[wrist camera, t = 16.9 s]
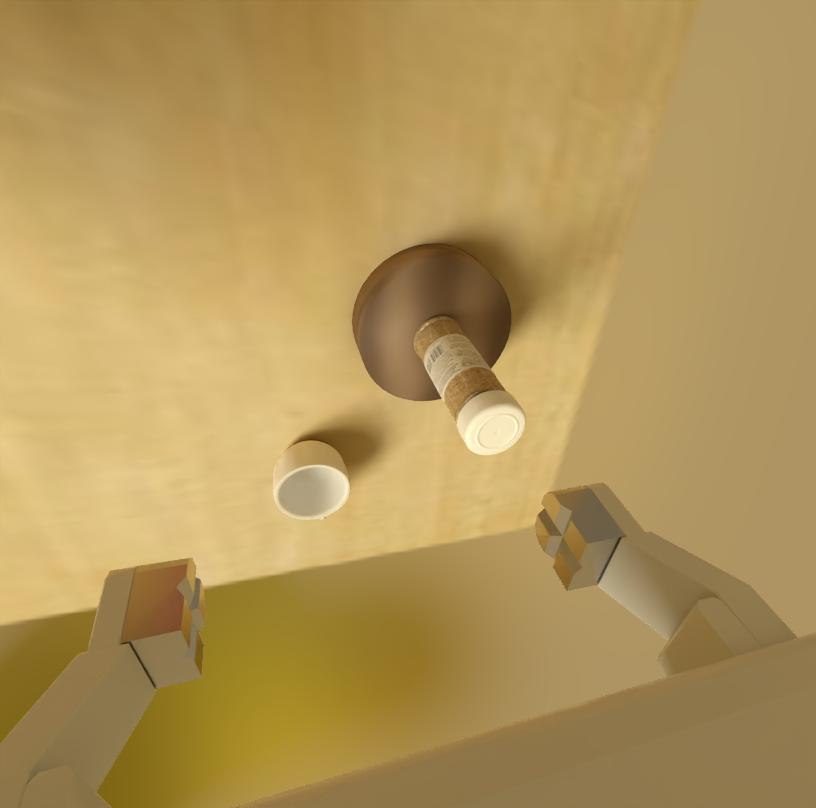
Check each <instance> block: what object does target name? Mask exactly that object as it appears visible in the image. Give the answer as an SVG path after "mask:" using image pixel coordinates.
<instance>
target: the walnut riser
mask: <svg viewBox="0 0 816 808" xmlns="http://www.w3.org/2000/svg"><path fill="white" fill-rule="evenodd" d="M438 316H446V317H449V318H452V319H453V320H455V321H456V322H457V323H458V324H459V326H460V328H461V331H462V332H463V333H464V335H465V336H466V337H467V339H469V340H470V342H471V343H472V344H473V346H474V347H475V348H476V350H477V351H478V352H479V354H480V355H481V356H482V358H483V359H484V361H485V362H486V363H487V365H488V366H489V367H490V369H491V368H492V366H493V365H494V364H495V363H496V361H497V360H498V358H499V357H500V355H501V353H502V351H503V349H504V347H505V345H506V342H507V340H508V336H509V332H510V326H511V310H510V304H509V301H508V298H507V295H506V293H505V291H504V289H503V288H502V286H501V285H500V283H499V282H498V281H497V280H496V279H495V278H494V277H493V276H492V275H491V274H490V273H489V272H488V271H487V270H486V269H485V268H484V267H483V266H482V265H481V264H480V263H479V262H478V261H477V260H476V259H475V258H474V257H472V256H471V255H470V254H468V253H467V252H465V251H463V250H461V249H459V248H455V247H452V246H448V245H443V244H426V245H419V246H415V247H411V248H408V249H406V250H403V251H400V252H399V253H397V254H395V255H393V256H391V257H390V258H388V259H387V260H386V261H384V262H383V263H382V264H380V265H379V266H378V267H377V268H376V269H375V270H374V271H373V272H372V273H371V275H370V276H369V277H368V278H367V280H366V281H365V283H364V284H363V286H362V288H361V290H360V292H359V294H358V296H357V299H356V302H355V305H354V310H353V319H352V325H353V333H354V337H355V341H356V343H357V346H358V349H359V352H360V354H361V357H362V360H363V362H364V365H365V367H366V370H367V371H368V373H369V375H370V376H371V378H372V379H373V380H374V381H375V382H376V384H378V385H379V386H380V387H381V388H382V389H384V390H385V391H387V392H388V393H390V394H392V395H394V396H397V397H400V398H403V399H407V400H413V401H431V400H437V399H442V398H441V396H440V394H439V393H438V391H437V389H436V387H435V385H434V383H433V381H432V380H431V378H430V376H429V374H428V372H427V370H426V368H425V365H424V363H423V361H422V359H421V358H420V357H419V356H418V354H417V353H416V351H415V349H414V337H415V334H416V332H417V331H418V328H419V327H420V326H421V325H422V324H423V323H424V322H426V321H427V320H429V319H431V318H434V317H438Z"/></svg>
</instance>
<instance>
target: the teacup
mask: <svg viewBox="0 0 816 808" xmlns="http://www.w3.org/2000/svg"><path fill="white" fill-rule="evenodd" d="M350 487H351V484H350V479H349V475H348V472H347V470H346V467H345V464H344V461H343V459H342V457H341V455H340V454H339V453H338V452H337V450H335V449H334V448H333V447H332V446H330V445H328V444H326V443H324V442H320V441H312V440H310V441H303V442H299V443H296V444H294V445H292V446H291V447H289V448H288V449H287V450H285V451H284V452H283V454H282V455H281V456H280V458H279V459H278V461H277V463H276V466H275V469H274V476H273V495H274V499H275V502H276V504H277V506H278V507H279V509H280V510H281V511H282V512H284V513H285V514H287V515H288V516H291V517H293V518H297V519H304V520H311V519H318V518H320V519H321V520H323V519H325V516H328V515H330V514H332V513H334V512H335V511H337V510H338V509H339V508H341V507H342V506H343V505H344V503H345V502H346V501H347V499H348V497H349V494H350Z"/></svg>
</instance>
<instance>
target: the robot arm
mask: <svg viewBox="0 0 816 808" xmlns="http://www.w3.org/2000/svg"><path fill="white" fill-rule="evenodd" d="M542 505H543V506H544V509H543V510H542V511H541V512H540V513H539V514H538V516H537V519H536V523H535V527H536V535H537V538H538V541H539V543H540V545H541V547H542V549H543V551H544V552H545V553H546V554H548V555H550V556H551V557H553V558H554V564H553V568H554V570H555V572H556V573H557V575H558V577H559V578H560V580H561V582H562V583H563V585H564V587H565V588H566V590H567V591H568V590H573V589H578V588H582V587H588V586H592V585H597V584H599V585H598V587H599V588H601V589H602V590H603V591H604V592H606V593H607V594H608V595H610V596H611V597H612V598H614V599H615V600H616V601H617V602H619V603H620V604H621V605H623V606H624V607H625V608H626V609H628V610H629V611H630V612H632V613H633V614H634V615H636V616H637V617H638V618H639V619H641V620H642V621H643V622H645V623H646V624H647V625H648V626H650V627H651V628H652V629H654V630H655V631H656V632H657V633H659V634H660V635H661V636H663V637H664V638H665V639H667V640H668V643H667V644H666V646H665V647H664V648H663V650H662V651H661V652H660V654H659V657H658V662H659V664H660V665H661V667H662V668H663V670H664V671H665V673H666V674H667V676H668V677H665V678H662V679H658V680H655V681H652V682H648V683H645V684H642V685H638V686H635V687H632V688H629V689H625V690H622V691H619V692H615V693H612V694H609V695H605V696H602V697H598V698H595V699H592V700H588V701H585V702H582V703H578V704H575V705H572V706H569V707H565V708H562V709H559V710H555V711H552V712H548V713H546V714H542V715H538V716H535V717H532V718H528V719H525V720H522V721H518V722H515V723H512V724H508V725H505V726H502V727H498V728H495V729H492V730H489V731H485V732H482V733H479V734H475V735H472V736H468V737H465V738H462V739H458V740H455V741H452V742H449V743H445V744H442V745H438V746H435V747H432V748H429V749H425V750H422V751H419V752H415V753H412V754H408V755H405V756H402V757H398V758H395V759H392V760H389V761H386V762H382V763H379V764H375V765H372V766H369V767H365V768H362V769H359V770H355V771H352V772H349V773H346V774H342V775H339V776H335V777H332V778H329V779H325V780H322V781H319V782H316V783H312V784H309V785H305V786H302V787H299V788H295V789H293V790H289V791H285V792H282V793H279V794H276V795H272V796H269V797H265V798H262V799H259V800H255V801H252V802H249V803H245V804H242V805H239V806H236V807H232V808H816V632H815V633H811V634H808V635H805V636H801V637H797V636H796V635H795V634H794V633H793V632H792V631H791V630H790V629H789V628H788V626H786V624H785V623H784V622H783V621H782V620H781V619H780V618H779V617H778V615H777V614H776V613H775V612H774V611H773V610H772V609H771V608H770V607H769V606H768V604H767V603H766V602H765V601H764V600H763V599H762V598H761V597H760V596H759V595H758V594H757V592H756V591H755V590H754V589H753V588H752V587H751V586H750V585H748V584H746V583H745V582H743V581H741V580H739V579H737V578H735V577H733V576H732V575H730V574H728V573H726V572H724V571H722V570H721V569H718V568H717V567H715V566H713V565H711V564H709V563H708V562H706V561H704V560H702V559H700V558H698V557H697V556H695V555H693V554H691V553H689V552H687V551H686V550H684V549H682V548H680V547H678V546H676V545H674V544H672V543H671V542H669V541H667V540H665V539H663V538H662V537H660V536H658V535H656V534H654V533H652V532H644V530H643V529H642V528H641V526H640V525H639V524H638V523H637V521H636V520H635V519H634V518H633V516H632V515H631V514H630V513H629V511H627V509H626V508H625V507H624V505H623V504H622V503H621V502H620V500H619V499H618V498H617V497H616V496H615V494H614V493H613V492H612V491H611V489H610V488H609V487H608V486H607V485H606V484H604V483H596V484H591V485H587V486H578V487H573V488H568V489H563V490H558V491H553V492H548V493H547V494H545V495H544V497H543V500H542ZM195 575H196V566H195V563H194V561H193V558H187V559H180V560H174V561H168V562H161V563H155V564H148V565H142V566H136V567H130V568H124V569H118V570H113V571H110V572H109V574H108V575H107V577H106V579H105V581H104V585H103V589H102V594H101V598H100V602H99V606H98V610H97V614H96V618H95V622H94V626H93V630H92V634H91V638H90V642H89V646H88V650H87V652H84V653H80V654H78V655H77V656H76V657H75V658H74V659H73V661H72V662H71V663H70V664H69V665H68V667H67V668H66V669H65V670H64V671H63V672H62V673H61V674H60V676H59V677H58V678H57V679H56V680H55V682H54V683H53V684H52V685H51V686H50V687H49V688H48V689H47V691H46V692H45V693H44V694H43V695H42V696H41V697H40V699H39V700H38V701H37V702H36V703H35V704H34V706H33V707H32V708H31V709H30V710H29V711H28V713H27V714H26V715H25V716H24V717H23V718H22V719H21V721H20V722H19V723H18V724H17V725H16V726H15V727H14V729H13V730H12V731H11V732H10V733H9V734H8V736H7V737H6V738H5V739H4V740H3V741H2V742H1V744H0V808H111V807H110V806H109V805H108V804H107V803H106V802H105V801H104V800H103V799H102V798H101V797H100V796H99V795H98V794H97V793H96V792H97V790H98V788H99V787H100V785H101V783H102V782H103V780H104V778H105V777H106V775H107V773H108V772H109V770H110V768H111V767H112V765H113V763H114V762H115V760H116V758H117V757H118V755H119V753H120V752H121V750H122V748H123V747H124V745H125V743H126V742H127V740H128V738H129V737H130V735H131V733H132V732H133V730H134V728H135V727H136V725H137V723H138V722H139V720H140V718H141V717H142V715H143V713H144V712H145V710H146V709H147V707H148V705H149V703H150V702H151V700H152V699H153V697H154V695H155V694H156V690H155V689H158V688H162V687H166V686H169V685H173V684H177V683H181V682H185V681H189V680H193V679H196V678H200V677H202V661H203V646H204V645H203V642H202V640H201V637H200V634H199V631H200V630H201V629H202V627H203V626H204V625H205V597H204V591H203V586H202V583H201V580H200V579H198V578H196V577H195Z"/></svg>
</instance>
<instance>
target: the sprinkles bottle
mask: <svg viewBox="0 0 816 808" xmlns="http://www.w3.org/2000/svg"><path fill="white" fill-rule="evenodd" d="M414 349H415V351H416V353H417V354H418V356H419V357H420V358H421V359H422V361H423V363H424V365H425V368H426V370H427V372H428V374H429V376H430V378H431V380H432V381H433V383H434V385H435V387H436V389H437V391H438V393H439V394H440V396H441V398H442V400H443V402H444V403H445V404H446V405H447V407H448V408H449V410H450V412H451V414H452V416H453V417H454V419H455V421H456V423H457V428H458V431H459V433H460V435H461V437H462V439H463V440H464V442H465V443H466V445H467V446H468V448H469V449H470V450H471V451H473V452H475V453H477V454H481V455H492V454H497V453H500V452H502V451H504V450H506V449H508V448H509V447H511V446H512V445H513V444H515V443H516V442H517V441H518V440H519V438H520V437H521V436H522V434H523V432H524V430H525V427H526V416H525V413H524V411H523V409H522V408H521V406H520V405H519V404H518V402H517V401H516V399H515V398H514V397H513V396H512V395H511V394H510V393H508V392H506V391H505V389H504V387H503V386H502V385H501V384H500V382H499V381H498V379H497V378H496V376H495V374H494V373H493V371H492V370H491V369H490V367H489V366H488V365H487V363H486V362H485V361H484V359H483V358H482V356H481V355H480V354H479V352H478V351H477V350H476V348H475V347H474V346H473V344H472V343H471V342H470V340H469V339H467V337H466V336H465V335H464V333H463V332H462V331H461V328H460V326H459V324H458V323H457V322H456V321H455V320H453V319H452V318H449V317H446V316H438V317H434V318H431V319H429V320H427V321H426V322H424V323H423V324H422V325H421V326H420V327H419V328H418V331H417V332H416V334H415V337H414Z"/></svg>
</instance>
